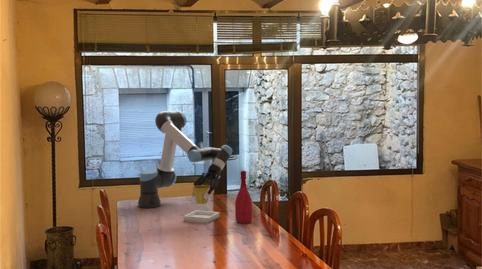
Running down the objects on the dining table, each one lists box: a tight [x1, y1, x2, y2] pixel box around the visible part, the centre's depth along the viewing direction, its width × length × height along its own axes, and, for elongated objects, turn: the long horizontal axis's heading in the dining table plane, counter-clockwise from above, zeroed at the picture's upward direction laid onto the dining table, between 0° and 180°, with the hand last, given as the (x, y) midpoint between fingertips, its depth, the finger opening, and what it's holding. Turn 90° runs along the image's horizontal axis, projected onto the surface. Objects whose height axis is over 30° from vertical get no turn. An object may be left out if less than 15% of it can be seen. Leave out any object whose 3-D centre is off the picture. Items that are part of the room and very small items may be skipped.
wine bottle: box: [234, 170, 253, 224], centre depth 299 cm, size 10×10×30 cm
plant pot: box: [192, 184, 210, 205], centre depth 306 cm, size 10×10×10 cm
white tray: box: [183, 209, 220, 224], centre depth 307 cm, size 16×16×3 cm
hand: (198, 197), depth 304 cm, fingers closed on plant pot, 10 cm apart
